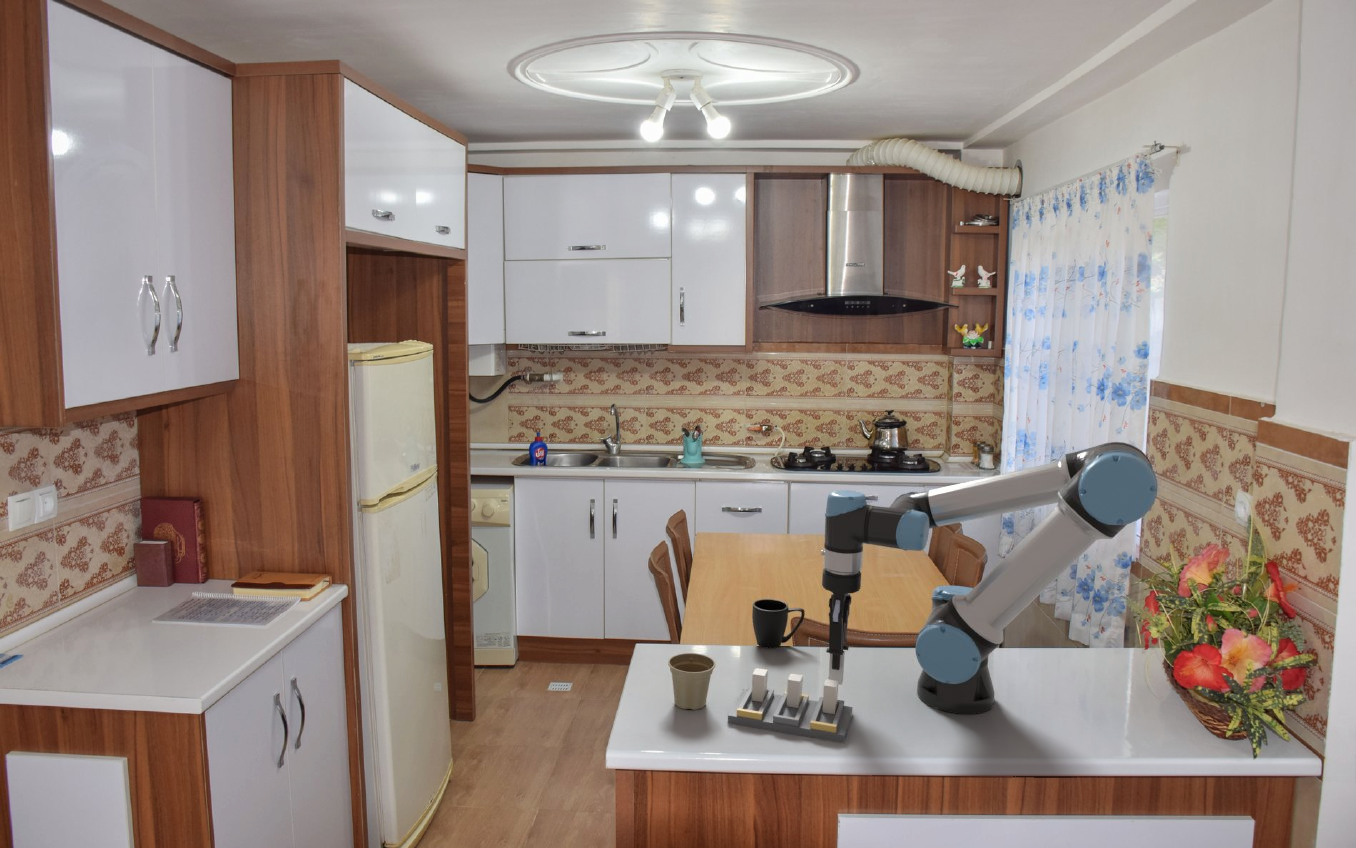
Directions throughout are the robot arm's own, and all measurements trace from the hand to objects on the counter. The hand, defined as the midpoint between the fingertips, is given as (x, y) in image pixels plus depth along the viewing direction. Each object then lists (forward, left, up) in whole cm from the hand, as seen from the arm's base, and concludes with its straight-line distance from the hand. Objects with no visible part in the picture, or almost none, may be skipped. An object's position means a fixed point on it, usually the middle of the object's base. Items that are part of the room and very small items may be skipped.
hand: (835, 682), depth 182 cm
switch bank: (+7, +10, -4) cm, 13 cm away
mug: (+17, -25, -4) cm, 30 cm away
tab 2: (+7, +7, -3) cm, 10 cm away
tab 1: (+14, +7, -3) cm, 16 cm away
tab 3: (0, +7, -3) cm, 8 cm away
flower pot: (+27, +11, -4) cm, 30 cm away
